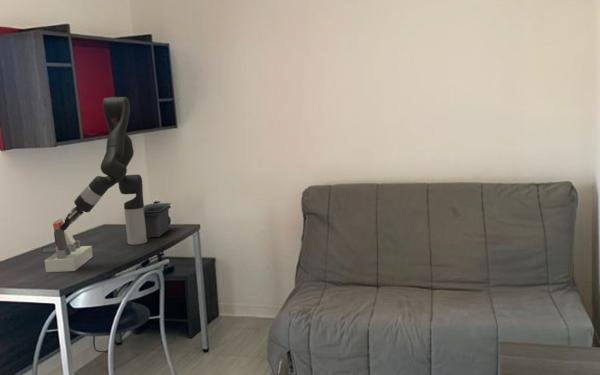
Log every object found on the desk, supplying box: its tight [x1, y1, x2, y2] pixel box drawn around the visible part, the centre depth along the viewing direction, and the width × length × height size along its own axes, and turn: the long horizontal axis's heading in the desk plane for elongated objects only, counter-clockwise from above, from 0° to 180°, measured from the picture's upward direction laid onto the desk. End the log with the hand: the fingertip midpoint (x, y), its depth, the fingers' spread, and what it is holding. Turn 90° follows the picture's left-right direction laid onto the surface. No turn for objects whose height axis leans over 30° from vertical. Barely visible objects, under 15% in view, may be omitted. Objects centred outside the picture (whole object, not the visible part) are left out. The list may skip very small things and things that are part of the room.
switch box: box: [44, 240, 94, 273], centre depth 259 cm, size 22×12×8 cm, turn 0°
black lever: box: [52, 221, 68, 255], centre depth 252 cm, size 4×2×14 cm, turn 0°
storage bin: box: [144, 202, 172, 239], centre depth 308 cm, size 21×16×14 cm
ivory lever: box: [52, 218, 77, 248], centre depth 263 cm, size 4×2×14 cm, turn 0°
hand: (62, 229), depth 251 cm, fingers closed
